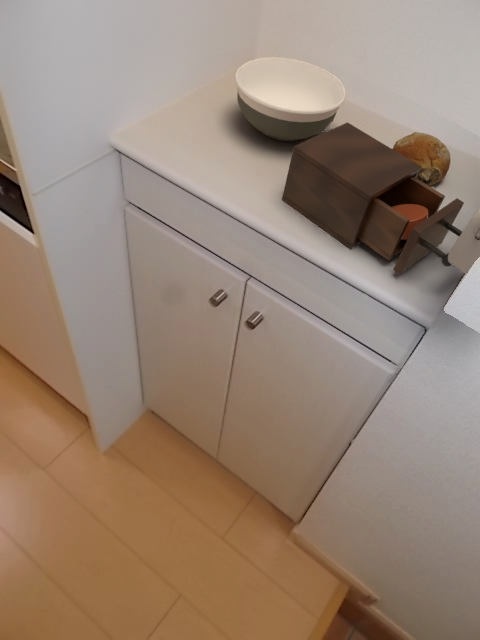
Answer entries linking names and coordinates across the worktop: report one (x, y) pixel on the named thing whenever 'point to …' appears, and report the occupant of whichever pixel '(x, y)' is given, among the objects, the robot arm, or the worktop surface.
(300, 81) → the bowl
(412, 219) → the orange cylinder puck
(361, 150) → the cabinet
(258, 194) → the worktop surface
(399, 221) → the drawer
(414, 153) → the bread roll
